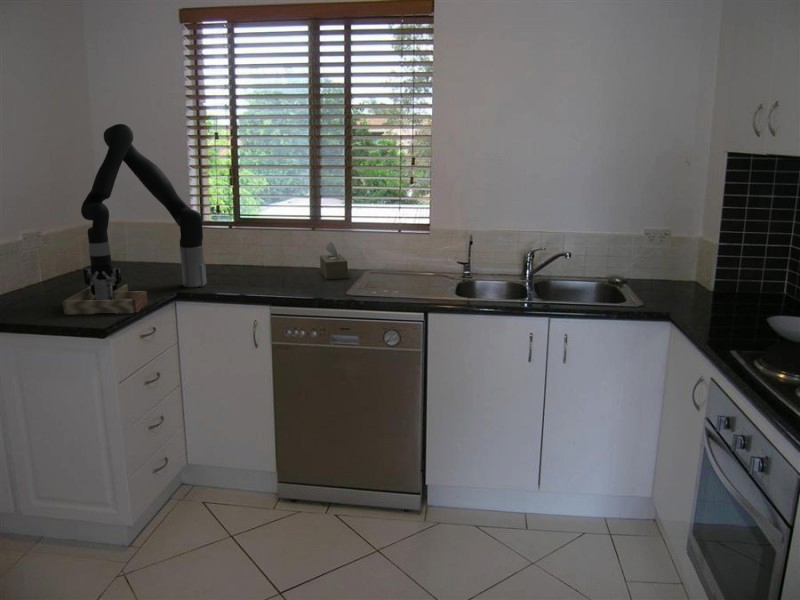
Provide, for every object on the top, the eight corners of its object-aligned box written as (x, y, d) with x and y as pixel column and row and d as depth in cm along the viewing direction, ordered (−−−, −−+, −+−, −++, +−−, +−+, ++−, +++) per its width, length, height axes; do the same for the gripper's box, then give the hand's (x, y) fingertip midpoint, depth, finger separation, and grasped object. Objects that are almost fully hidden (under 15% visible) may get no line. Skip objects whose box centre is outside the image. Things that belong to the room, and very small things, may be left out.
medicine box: (108, 302, 259) (105, 281, 257) (96, 302, 259) (93, 281, 257) (114, 297, 267) (112, 276, 265) (103, 298, 267) (101, 277, 264)
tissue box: (320, 271, 314) (319, 238, 310) (340, 270, 316) (339, 237, 313) (326, 280, 296) (325, 245, 292) (348, 278, 299) (347, 244, 295)
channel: (158, 295, 270) (157, 283, 268) (136, 313, 243) (134, 299, 242) (93, 296, 268) (92, 284, 267) (64, 314, 242) (62, 301, 241)
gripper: (122, 251, 262) (126, 291, 266) (85, 252, 262) (90, 292, 266) (115, 255, 255) (119, 296, 259) (77, 255, 254) (82, 297, 258)
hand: (105, 294), depth 262 cm, fingers open, 7 cm apart
